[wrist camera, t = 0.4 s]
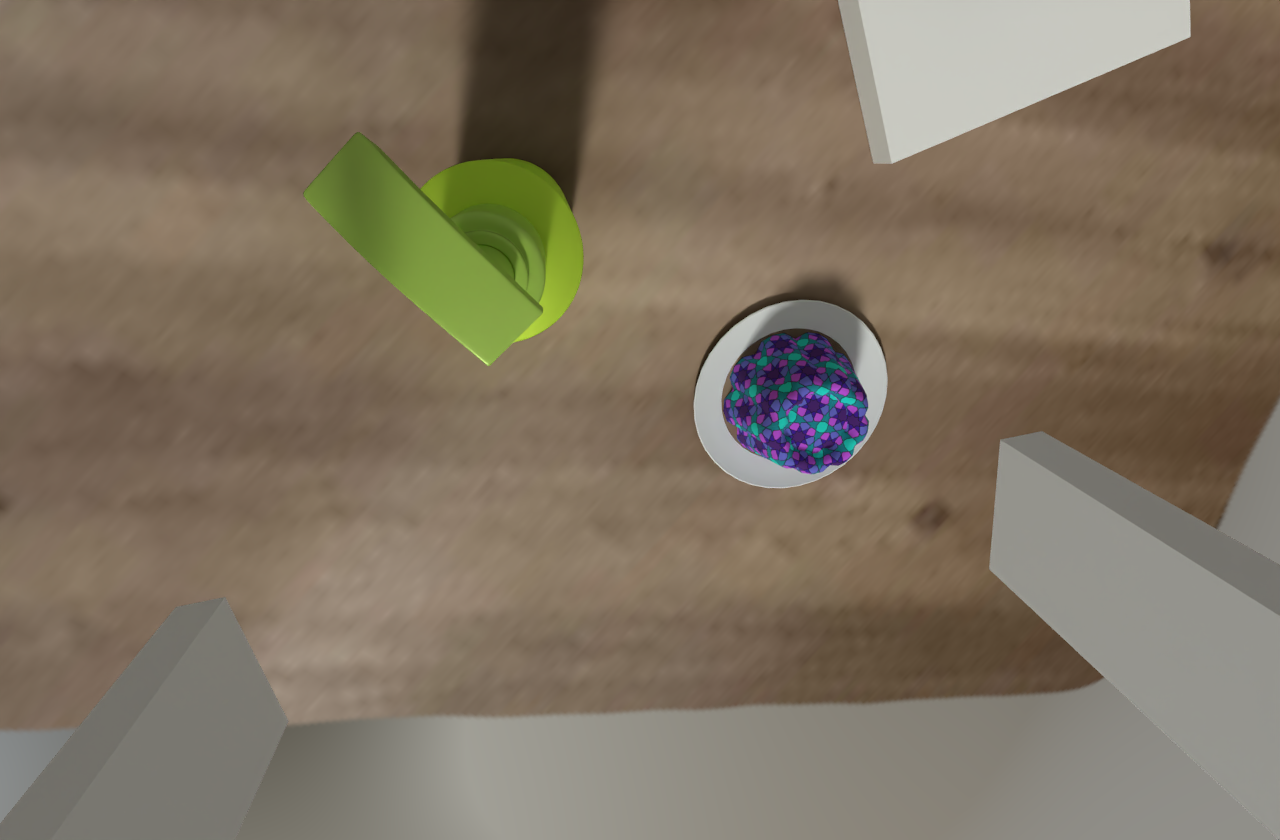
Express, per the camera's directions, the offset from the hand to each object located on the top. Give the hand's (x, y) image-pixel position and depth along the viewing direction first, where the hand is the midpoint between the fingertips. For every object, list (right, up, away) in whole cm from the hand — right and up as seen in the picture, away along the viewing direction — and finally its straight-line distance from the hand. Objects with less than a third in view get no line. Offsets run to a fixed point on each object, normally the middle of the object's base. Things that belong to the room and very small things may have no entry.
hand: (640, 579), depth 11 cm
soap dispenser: (-7, +13, +22) cm, 27 cm away
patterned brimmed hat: (+9, +4, +28) cm, 30 cm away
